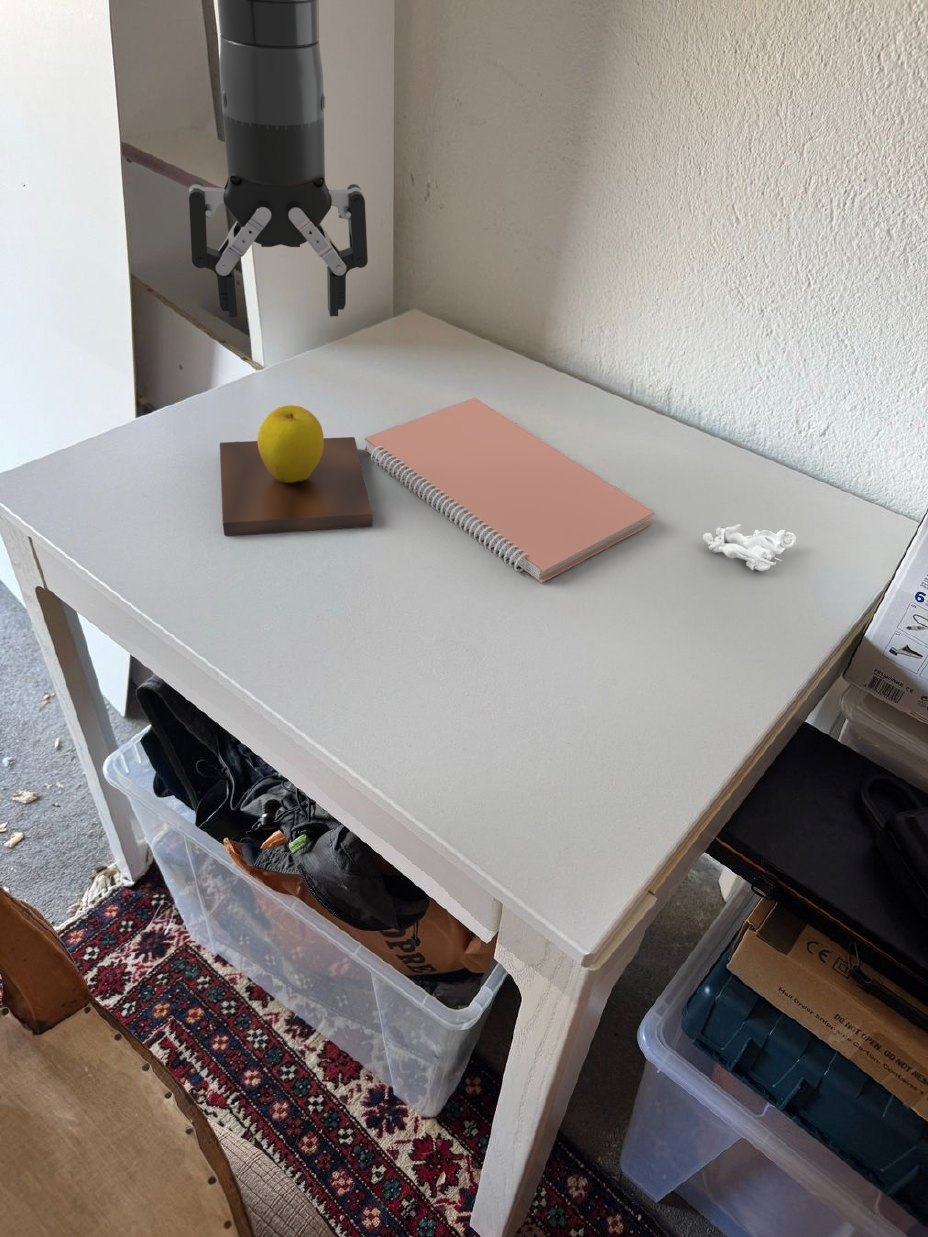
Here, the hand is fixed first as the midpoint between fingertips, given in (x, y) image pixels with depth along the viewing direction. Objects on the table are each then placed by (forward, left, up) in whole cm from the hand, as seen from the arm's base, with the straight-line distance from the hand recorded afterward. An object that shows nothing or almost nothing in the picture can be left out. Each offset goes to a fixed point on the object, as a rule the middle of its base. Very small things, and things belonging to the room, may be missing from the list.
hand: (283, 313), depth 80 cm
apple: (0, 0, -17) cm, 17 cm away
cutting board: (0, 0, -19) cm, 19 cm away
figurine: (+43, -14, -19) cm, 49 cm away
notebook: (+21, -2, -19) cm, 28 cm away
